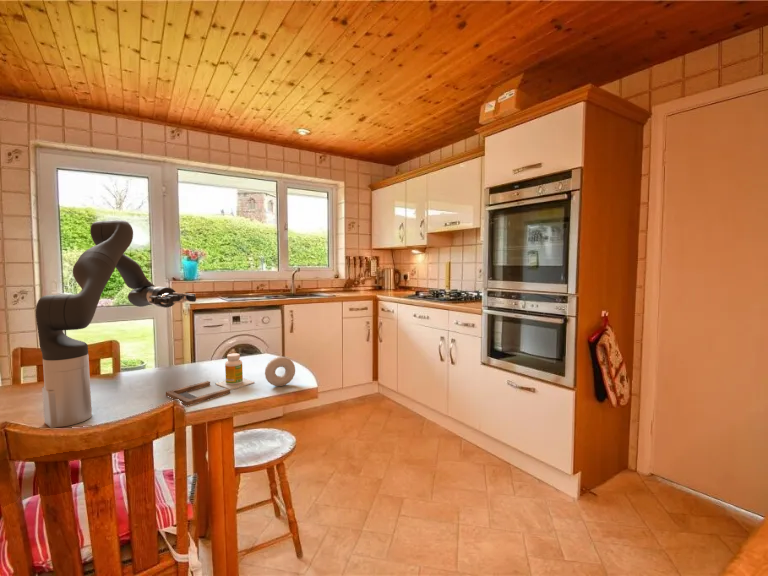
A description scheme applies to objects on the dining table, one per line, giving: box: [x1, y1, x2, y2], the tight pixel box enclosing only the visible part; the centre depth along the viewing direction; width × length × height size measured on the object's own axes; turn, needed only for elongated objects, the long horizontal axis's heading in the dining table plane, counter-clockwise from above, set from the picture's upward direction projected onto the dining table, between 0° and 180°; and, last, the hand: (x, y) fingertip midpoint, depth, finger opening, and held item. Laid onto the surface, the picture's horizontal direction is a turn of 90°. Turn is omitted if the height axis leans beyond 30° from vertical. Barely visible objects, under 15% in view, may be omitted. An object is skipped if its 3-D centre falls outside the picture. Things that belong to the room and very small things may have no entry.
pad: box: [215, 377, 255, 391], centre depth 131 cm, size 9×9×1 cm
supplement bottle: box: [224, 352, 244, 385], centre depth 131 cm, size 5×5×10 cm
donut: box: [264, 356, 296, 387], centre depth 129 cm, size 10×3×10 cm, turn 116°
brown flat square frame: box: [165, 380, 231, 407], centre depth 121 cm, size 14×14×1 cm
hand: (182, 299), depth 136 cm, fingers open, 8 cm apart
